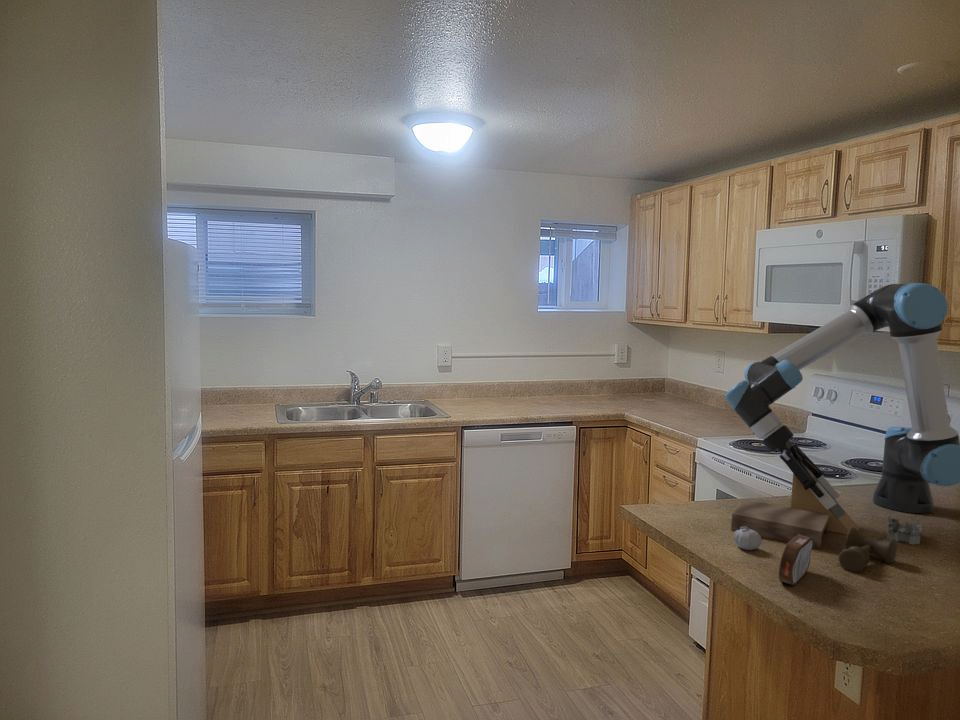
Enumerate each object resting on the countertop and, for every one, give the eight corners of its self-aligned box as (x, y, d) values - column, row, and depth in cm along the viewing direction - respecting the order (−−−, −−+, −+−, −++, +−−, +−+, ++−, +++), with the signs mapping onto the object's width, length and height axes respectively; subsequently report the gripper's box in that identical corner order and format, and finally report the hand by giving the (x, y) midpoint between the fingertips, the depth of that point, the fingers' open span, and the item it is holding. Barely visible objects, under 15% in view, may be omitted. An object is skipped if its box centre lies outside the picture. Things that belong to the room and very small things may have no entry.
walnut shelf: (828, 531, 173) (829, 514, 173) (820, 549, 159) (821, 531, 159) (745, 514, 184) (746, 499, 183) (730, 530, 170) (732, 513, 170)
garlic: (731, 550, 157) (733, 527, 156) (733, 542, 161) (735, 521, 161) (760, 555, 154) (762, 532, 154) (761, 547, 159) (762, 525, 159)
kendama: (825, 567, 150) (855, 544, 164) (873, 583, 143) (901, 558, 157) (828, 541, 149) (858, 520, 163) (877, 555, 142) (904, 532, 156)
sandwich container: (854, 536, 170) (860, 477, 168) (788, 522, 179) (793, 465, 178) (860, 528, 176) (866, 471, 175) (796, 514, 186) (801, 460, 184)
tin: (797, 566, 148) (800, 528, 147) (812, 570, 146) (816, 532, 145) (775, 587, 136) (779, 546, 136) (792, 592, 134) (796, 550, 134)
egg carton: (886, 529, 178) (887, 513, 177) (920, 535, 174) (922, 520, 173) (884, 540, 169) (886, 524, 168) (920, 547, 165) (922, 530, 164)
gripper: (768, 435, 194) (826, 501, 187) (752, 446, 176) (816, 520, 169) (790, 418, 191) (850, 485, 184) (776, 429, 173) (842, 503, 166)
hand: (833, 502), depth 176 cm, fingers closed on sandwich container, 8 cm apart
